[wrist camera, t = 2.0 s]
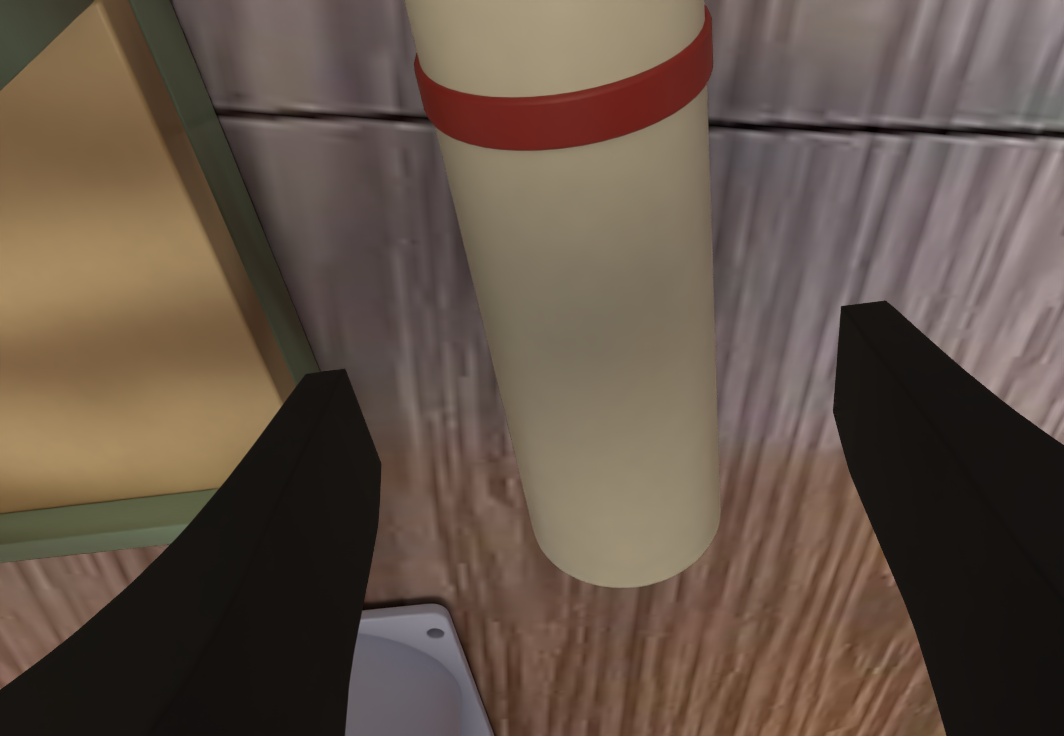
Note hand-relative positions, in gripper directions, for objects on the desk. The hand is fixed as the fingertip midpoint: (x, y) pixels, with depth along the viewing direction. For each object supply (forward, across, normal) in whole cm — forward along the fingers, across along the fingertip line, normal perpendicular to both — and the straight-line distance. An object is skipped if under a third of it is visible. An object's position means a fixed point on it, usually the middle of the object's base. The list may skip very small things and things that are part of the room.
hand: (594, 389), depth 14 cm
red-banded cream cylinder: (+6, 0, 0) cm, 6 cm away
